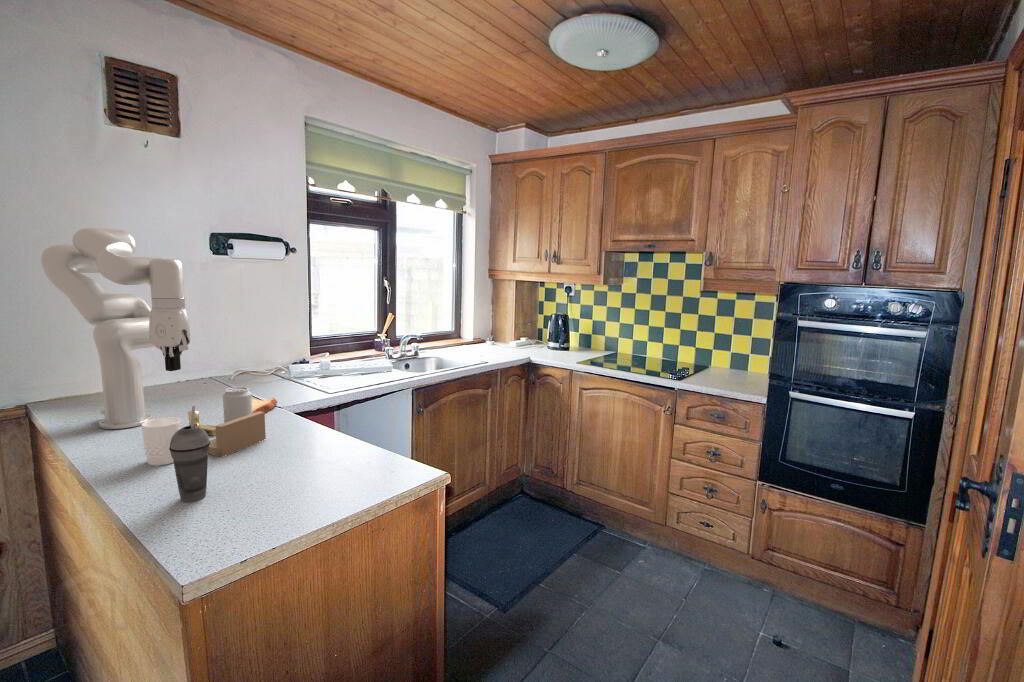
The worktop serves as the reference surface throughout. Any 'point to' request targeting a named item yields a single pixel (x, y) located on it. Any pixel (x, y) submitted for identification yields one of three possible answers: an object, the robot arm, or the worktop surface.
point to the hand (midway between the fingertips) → (173, 370)
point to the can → (237, 403)
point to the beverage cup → (190, 461)
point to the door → (236, 434)
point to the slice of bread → (263, 405)
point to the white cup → (159, 439)
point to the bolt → (208, 429)
